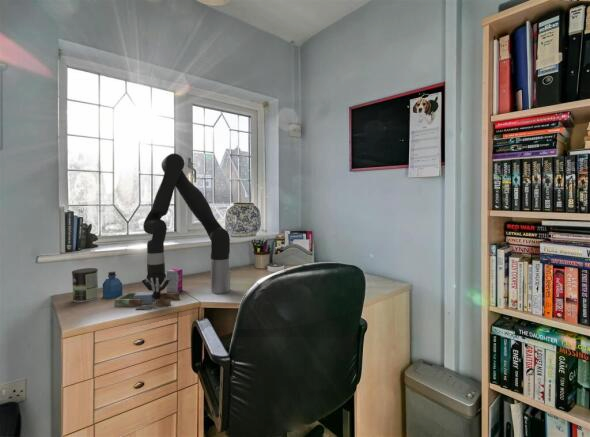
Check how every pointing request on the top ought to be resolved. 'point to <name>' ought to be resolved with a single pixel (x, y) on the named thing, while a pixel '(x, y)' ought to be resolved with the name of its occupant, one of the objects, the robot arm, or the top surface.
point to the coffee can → (85, 284)
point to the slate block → (145, 297)
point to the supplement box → (174, 280)
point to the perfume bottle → (112, 286)
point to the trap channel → (130, 301)
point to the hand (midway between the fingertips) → (157, 299)
